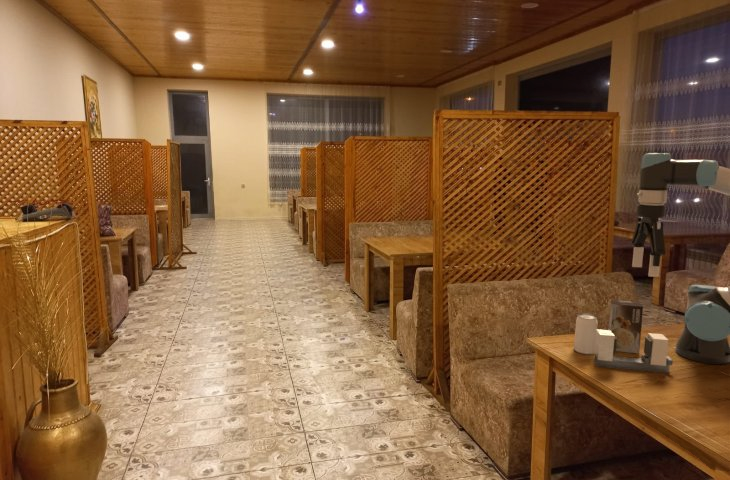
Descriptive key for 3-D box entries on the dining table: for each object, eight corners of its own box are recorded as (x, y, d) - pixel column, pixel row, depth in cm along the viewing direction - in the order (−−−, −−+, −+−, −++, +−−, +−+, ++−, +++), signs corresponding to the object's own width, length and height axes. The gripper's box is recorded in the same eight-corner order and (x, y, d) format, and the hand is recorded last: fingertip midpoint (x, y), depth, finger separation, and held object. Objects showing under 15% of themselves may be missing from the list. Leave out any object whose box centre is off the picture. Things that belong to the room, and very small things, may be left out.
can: (597, 355, 163) (600, 319, 161) (576, 353, 164) (578, 318, 162) (592, 348, 169) (595, 313, 167) (572, 346, 170) (574, 312, 168)
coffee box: (636, 347, 170) (641, 301, 167) (639, 354, 164) (644, 306, 161) (606, 343, 173) (610, 298, 171) (608, 350, 167) (612, 303, 165)
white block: (659, 359, 154) (662, 334, 152) (665, 365, 149) (668, 340, 148) (642, 357, 155) (645, 332, 153) (648, 364, 150) (650, 338, 149)
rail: (666, 367, 154) (669, 334, 152) (672, 374, 149) (676, 340, 147) (593, 361, 158) (596, 329, 156) (597, 367, 153) (600, 334, 152)
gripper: (624, 200, 167) (618, 262, 171) (654, 207, 143) (647, 280, 146) (648, 200, 166) (642, 263, 170) (683, 208, 142) (675, 281, 145)
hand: (644, 271), depth 158 cm, fingers open, 13 cm apart
